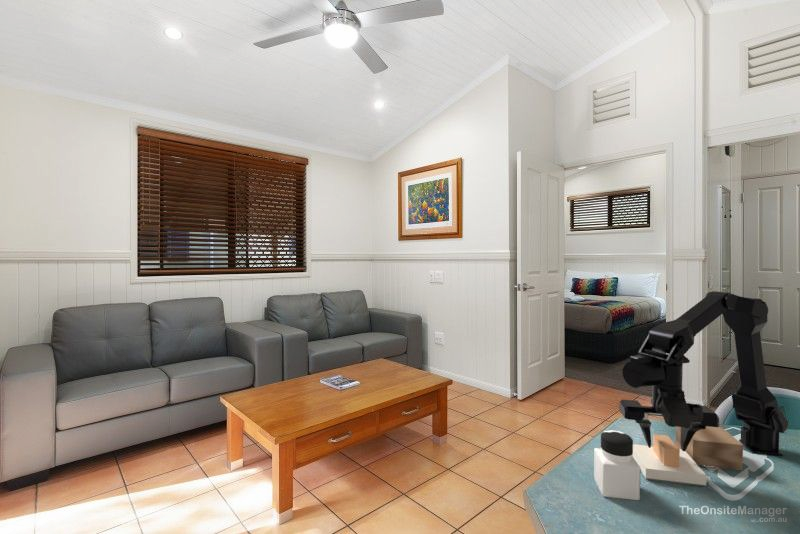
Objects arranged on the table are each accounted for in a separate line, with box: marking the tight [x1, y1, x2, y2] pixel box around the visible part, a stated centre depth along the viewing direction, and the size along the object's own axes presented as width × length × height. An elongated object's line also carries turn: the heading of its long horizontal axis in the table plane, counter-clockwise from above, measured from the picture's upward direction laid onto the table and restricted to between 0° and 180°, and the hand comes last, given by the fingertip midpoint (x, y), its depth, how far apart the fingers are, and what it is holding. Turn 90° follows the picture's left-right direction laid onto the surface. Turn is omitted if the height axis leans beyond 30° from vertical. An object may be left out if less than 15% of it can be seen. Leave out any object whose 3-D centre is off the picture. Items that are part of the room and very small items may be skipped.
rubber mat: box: [645, 478, 705, 487], centre depth 94 cm, size 11×11×1 cm
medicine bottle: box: [593, 429, 641, 501], centre depth 87 cm, size 7×7×12 cm
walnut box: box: [675, 425, 744, 471], centre depth 100 cm, size 10×10×6 cm
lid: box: [633, 433, 707, 486], centre depth 94 cm, size 12×12×6 cm
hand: (665, 448), depth 94 cm, fingers open, 7 cm apart
